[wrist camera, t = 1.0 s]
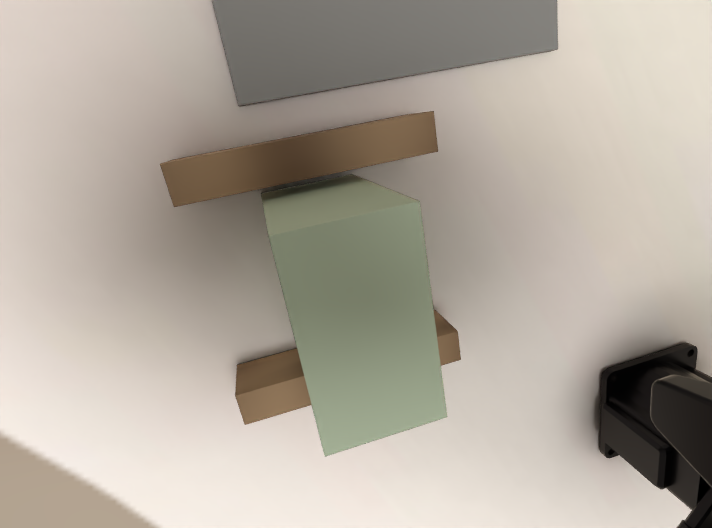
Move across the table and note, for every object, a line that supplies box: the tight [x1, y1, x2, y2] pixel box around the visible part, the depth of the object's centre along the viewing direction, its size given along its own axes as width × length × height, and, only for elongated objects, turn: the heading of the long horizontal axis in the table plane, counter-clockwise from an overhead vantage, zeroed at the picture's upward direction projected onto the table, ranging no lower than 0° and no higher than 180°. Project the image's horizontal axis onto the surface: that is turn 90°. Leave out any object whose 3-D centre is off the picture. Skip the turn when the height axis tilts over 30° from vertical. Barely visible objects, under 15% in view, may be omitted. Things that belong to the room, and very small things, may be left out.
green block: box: [261, 174, 447, 456], centre depth 16 cm, size 4×7×8 cm, turn 10°
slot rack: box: [160, 111, 461, 425], centre depth 18 cm, size 10×11×2 cm
